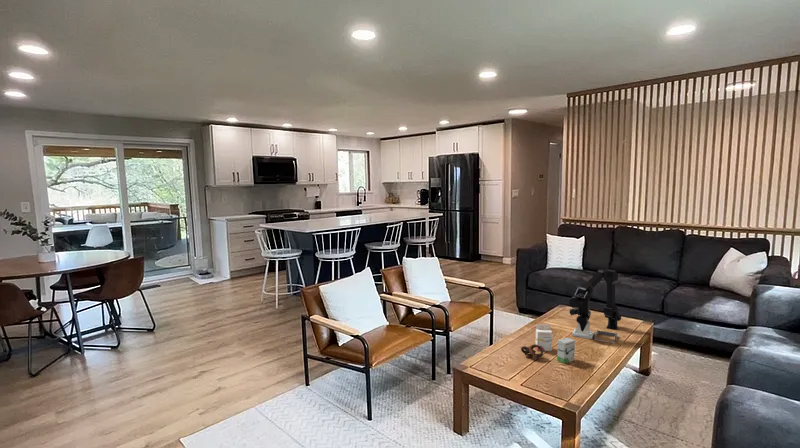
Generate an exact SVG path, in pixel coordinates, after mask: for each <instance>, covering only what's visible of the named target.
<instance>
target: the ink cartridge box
mask: <svg viewBox="0 0 800 448" xmlns="http://www.w3.org/2000/svg"><path fill="white" fill-rule="evenodd" d="M535 326H536V327H535V342H534V343H535V345H538V346H540V347H541V348H542V350H543V352H552V351H553V350H552V349H553V331H552V330H551V324H546V323H542V324H540V323H536V325H535ZM535 350H536V351H539V352H541V350H540V349H538V347H535Z"/></svg>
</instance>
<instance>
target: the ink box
mask: <svg viewBox="0 0 800 448" xmlns="http://www.w3.org/2000/svg"><path fill="white" fill-rule="evenodd" d="M575 348H576V340H575V339H572V338H570V337H565V338H559V339H558V340H557V356H556V357H557V359H556V360H557V362H560V363H562V364H567V363H571V362H574V361H575V352H576V351H575V350H576V349H575Z"/></svg>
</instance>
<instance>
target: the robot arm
mask: <svg viewBox="0 0 800 448" xmlns="http://www.w3.org/2000/svg"><path fill="white" fill-rule="evenodd" d="M602 280H604V281H605V283H606V304H605V306H603V312H602V313H603V314H604V318H607V325H606V329H611V330H618V329H619V325H618V322H620V321H621V320H622V316H621V315H620V313H619V309H618V307H617V305H616V283H617V282H618V281H619V272H617V271H616V270H611V269H605V270H604V269H598V270H597V272H596V273H595V274H593V276H592V277H591V278H589V280H587V282H584V283H581V284H580V285H579V286H578V287H577V289H576V290H575V291H576V292H575V293H574V296H572V297H571V299H569V301H568V304H569V306H570V307H571V308H570V309H569V311H568V312H569V314H570V316H575V315H577V316H576V320H575V321H576V322H578V323H579V324H580V327H581V331H584V329H585V327H586V325H587V322H589V320H590V318H591V315H592V311H591V310H590V299H592V298H593V297H592V296H591V294H592V293H593V292H594V288H595V287H596V286H597V285H598V284H599V283H600V282H601V281H602Z"/></svg>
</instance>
